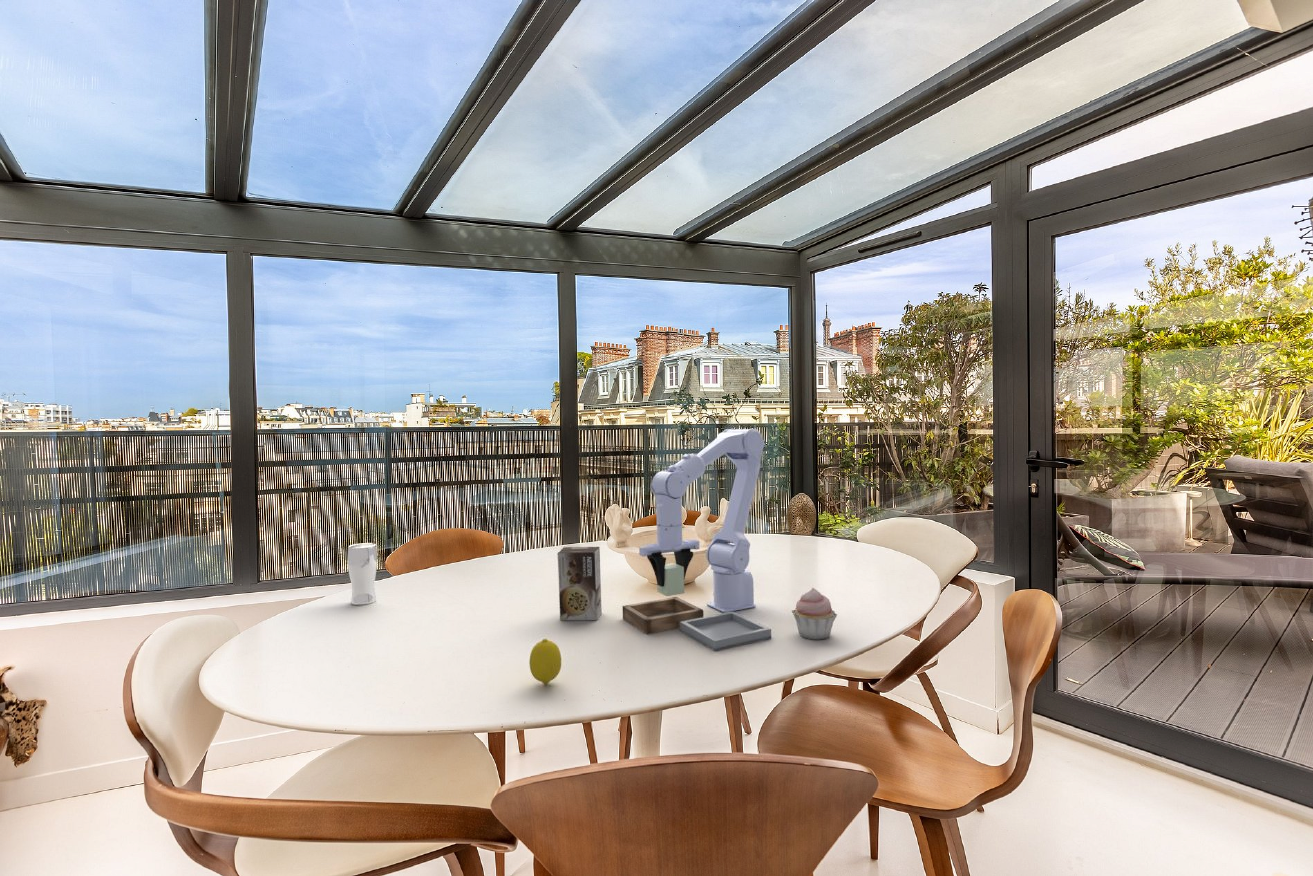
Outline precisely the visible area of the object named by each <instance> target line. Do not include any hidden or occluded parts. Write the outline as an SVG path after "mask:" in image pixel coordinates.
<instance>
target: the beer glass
mask: <svg viewBox="0 0 1313 876" xmlns="http://www.w3.org/2000/svg"><path fill="white" fill-rule="evenodd" d="M376 546H377V545H376V543H373V542H365V543H354V544H351V545H348V547H347V570H348V575H349V579H350V584H351V590H352V591H351V599H350V604H351V605H352V606H365V605H371V604H373V603H375V602H376V601H377V595H376V591H375V581H376V576H377V575H376V574H377V570H378V569H377V566H378V556H377V547H376Z"/></svg>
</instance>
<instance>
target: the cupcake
mask: <svg viewBox="0 0 1313 876" xmlns="http://www.w3.org/2000/svg"><path fill="white" fill-rule="evenodd" d="M835 612H836V611H835V610H833V608H832V604H831V602H830V599H829V598H828V597H827V596H825V595H824V594H822V593H821V592H820V591H818V590H817V589H815V588H814V587H812V588H811V589H810V590H809V591H807V592H804V594H802V595H801V596H800V599H799V600H797V602H796V604H795V609H793V610H791V613H792V615H793V617H794V619H795V623H796V626H797V627H796V628H797V630H798V634H799V635H800V636H801V637H802V638H805V639H807V640H808V639H809V640H825V639H828V638H830V636H831V633H832V629H833V626H834V625H833V624H834V622H835V620H836V618H837V616H838V613H835Z"/></svg>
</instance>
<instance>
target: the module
mask: <svg viewBox="0 0 1313 876" xmlns="http://www.w3.org/2000/svg"><path fill="white" fill-rule="evenodd" d="M664 577H665V582H664V586H663V587H661V586H659V585H657V593H660V594H662V595H663V596H666V597H671V596H675V595H676V596H677V595H683V594H685V580H684V567H683V566H680V565H678V564H676V562H673V563H672V562H671V563H667V564H666V563H665V571H664Z"/></svg>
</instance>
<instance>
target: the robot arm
mask: <svg viewBox="0 0 1313 876" xmlns="http://www.w3.org/2000/svg"><path fill="white" fill-rule="evenodd" d="M764 447H765V441H764V438H763V436H762V434H761V432H760V431H759V430H758V429H757V428H749V429H748V428H746V429H738V428H737V429H731V428H726V429H724V430H722V432H719V433H718V434H717V436H716V438H715V439H714V440H712V441H711V442H710V443H709V444H707V446H705V447H704V448H703V449H702V450H700V451H699V452H698V453H696V454H694V453H689V454H688V453H685V454H683V455H682V457H681V458H682V459H681V460H679V461H678V462H675V464H672V465H669V466H668V468H667V470H666V471H664V470H663V471H658V472H657V473H656V474H655V475H654V476H653V478H652V479H651V480H652V481H651V483H650V484H649V485H650V490H651V493H652V494H653V495H654V502H655V503H656V505H655V506H656V541H657V542H655V543H650V544H646V545H642V546H639V548H638V549H639V554H638V555H639V556H641V557H647V560H648V562H649V563H650V566H651V567H652V570H653V572H654V575H655V579H656V583H657V585H659V586H661V587H663V586H664V582H665V577H664V571H665V564H666V561H667V557H665V556H664V554H667V553H673V555H674V559H675V564H678V565H680V566H683V567H684V581H685V580H686V574H687V571H688V568H689V566H690V564H691V561H692V559H693V557H694V552H693V551H691V550H694V551H695V550H696V551H697V550H700V540H698V539H697V540H696V539H688V540H687V539H686V540H684V539H683V518H682V516H683V515H682V513H683V512H682V510H683V509H682V496H684V495H685V494H686V491H687V489H688V487H689V486H690V485H691V484H692V483H693V482H694V481H695V482H696V481H697V479H699V478H700V477H702V476H703V475H704V473H705V472H706V467H707V466H708V465H710V464H711V463H713V462H715V461H716V460H718V459H719V458H721V457H722V456H724V455H726V457H727V458H728V460H730V461H731V463H733V464H734V466H735V467H736V472H735V477H734V481H733V485H732V489H731V492H730V493H731V494H730V497H729V502H728V505H727V508H726V512H725V516H724V520H723V525H722V528H721V529H720V530H719V531H717V532H716V533H714V534H713V536H712V540H711V542H710V543H709V545H708V546H707V549H706V553H705V557H706V561H707V563H708V564H709V565H710V570H712V572H713V573H712V575H713V579H712V580H713V582H712V583H713V586H712V587H713V601H710V602H707V603H706V605H707V606H709V607H711V608H714V609H715V610H717V611H719V612H721V613H727V612H732V611H733V612H735V611H739V610H740V611H741V610H745V609H752V608H756V606H757V605H756V604H755V603H754V602H755V601H754V600H755V599H754V596H755V595H754V592H755V591H754V578H753V575H752V573H751V571H750V570H749V569H748V566H749V562H750V547H751V543H750V541H749V540H748V539H747V537H746V536H745V530H746V527H747V522H748V519H749V515H750V510H751V507H752V501H753V500H754V499H753V498H754V494H755V490H756V487H757V482H758V478H759V474H760V470H761V461H762V460H761V459H762V456H763V451H764Z"/></svg>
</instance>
